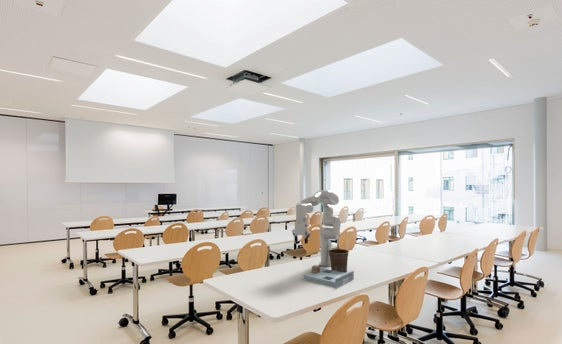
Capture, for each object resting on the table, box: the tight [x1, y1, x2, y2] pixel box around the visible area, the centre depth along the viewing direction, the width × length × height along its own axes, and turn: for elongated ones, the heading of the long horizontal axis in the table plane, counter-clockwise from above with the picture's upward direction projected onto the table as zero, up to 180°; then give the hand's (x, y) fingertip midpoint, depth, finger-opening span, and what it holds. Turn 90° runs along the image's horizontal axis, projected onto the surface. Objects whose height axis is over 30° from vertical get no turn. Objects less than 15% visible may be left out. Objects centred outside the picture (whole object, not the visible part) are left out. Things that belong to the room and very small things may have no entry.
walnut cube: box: [311, 264, 321, 273], centre depth 233 cm, size 4×4×4 cm
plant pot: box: [328, 248, 350, 273], centre depth 245 cm, size 16×16×16 cm
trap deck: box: [303, 267, 355, 288], centre depth 225 cm, size 24×28×6 cm
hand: (301, 242), depth 235 cm, fingers open, 9 cm apart
